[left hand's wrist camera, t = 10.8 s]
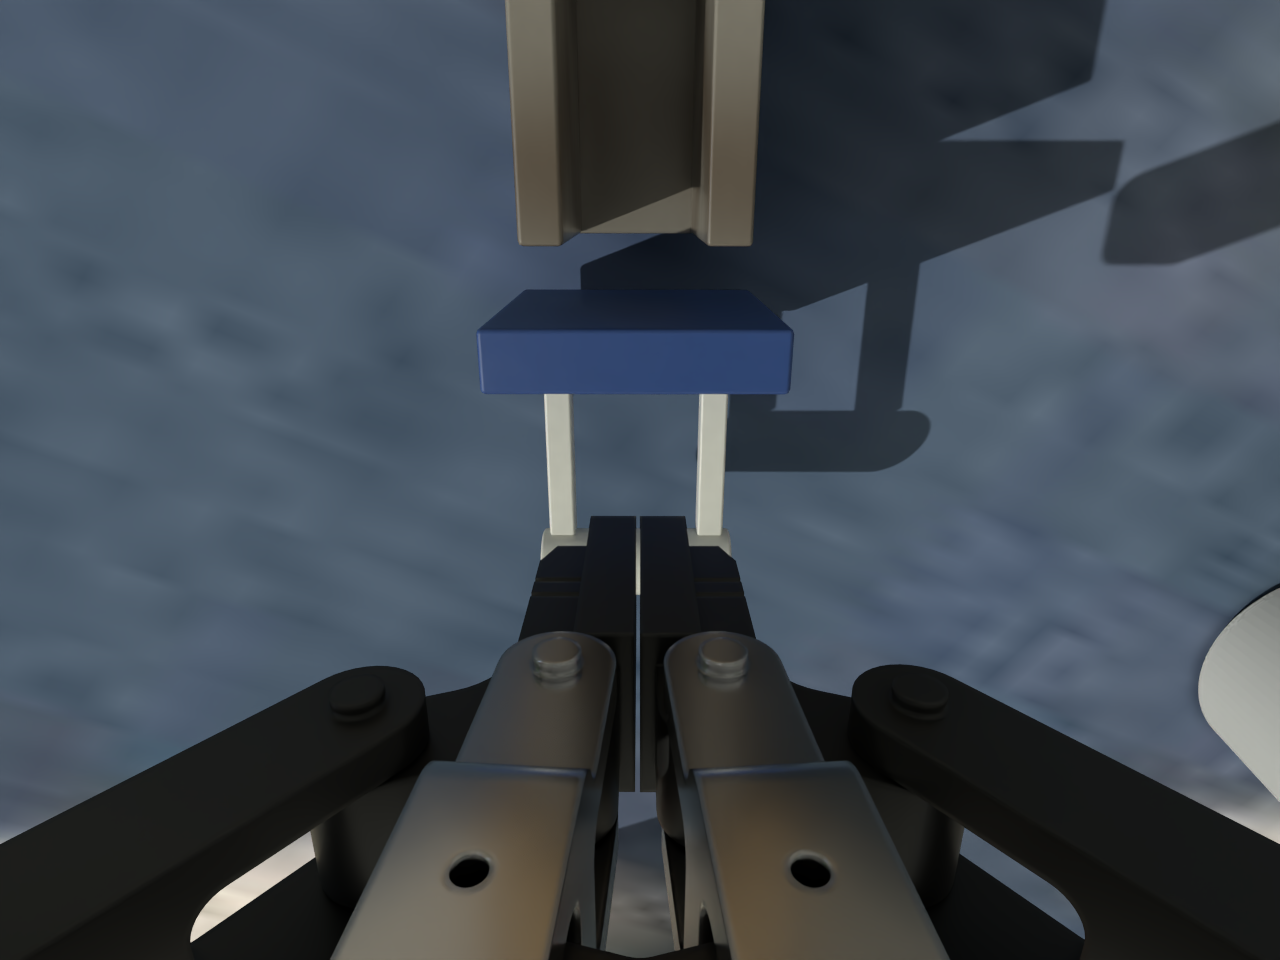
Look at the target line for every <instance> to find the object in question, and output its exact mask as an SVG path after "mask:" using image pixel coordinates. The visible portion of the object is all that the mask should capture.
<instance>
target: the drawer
mask: <svg viewBox="0 0 1280 960" xmlns="http://www.w3.org/2000/svg"><path fill="white" fill-rule="evenodd" d="M505 12H506V30H507V49H508V68H509V87H510V106H511V124H512V143H513V162H514V181H515V200H516V218H517V237H518V242H519V245H522V246H560V245H562V244H564V243H565V242H567V241H568V240H570V239H571V238H573V237H574V236H576V235H577V234H579V233H693V234H694V235H695V236H697V237H698V238H699V239H701V240H702V241H703V242H705V243H706V244H707V245H709V246H751V245H752V243H753V230H754V210H755V191H756V171H757V151H758V132H759V112H760V92H761V73H762V53H763V33H764V14H765V0H505ZM476 336H477V349H478V362H479V376H480V389H481V391H482V393H485V394H544V403H545V425H546V448H547V470H548V493H549V515H550V528H547V529H545V530H544V533H543V537H542V545H541V560H542V559H543V558H544V557H545V556H546V555H547V554H549V553H550V552H551V551H552V550H553V549H554V548H556V547H557V546H586V545H587V539H588V532H589V528H576V527H577V511H576V478H575V446H574V414H573V394H699V425H698V460H697V494H696V528H687V533H688V540H689V546H719V547H720V548H721V549H723V550H724V551H725V552H726V553H727V554H728V555H730V556H731V542H730V535H729V532H728V529H726V528H722V524H723V501H724V478H725V454H726V431H727V408H728V394H787V393H789V390H790V384H791V370H792V357H793V343H794V332H793V330H792V329H791V328H790V327H789V326H788V325H786V324H785V323H784V322H783V321H782V320H781V319H780V318H779V317H778V316H776V315H775V314H774V313H773V312H772V311H771V310H770V309H769V308H767V307H766V306H765V305H764V304H763V303H762V302H761V301H760V300H759V299H757V298H756V297H755V296H754V295H753V294H752V293H751V292H750V291H748V290H525V291H523V292H522V293H521V294H520V295H518V296H517V297H516V298H515V299H514V300H512V301H511V302H510V303H509V304H508V305H507V306H505V307H504V308H503V309H502V310H501V311H499V312H498V313H497V314H496V315H495V316H494V317H492V318H491V319H490V320H489V321H488V322H486V323H485V324H484V325H483V326H482V327H481V328H479V329H478V330H477V333H476ZM636 595H640V528H636Z"/></svg>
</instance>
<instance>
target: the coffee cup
mask: <svg viewBox="0 0 1280 960" xmlns="http://www.w3.org/2000/svg"><path fill="white" fill-rule="evenodd" d="M1198 693H1199V701H1200V706H1201V709H1202V712H1203V714H1204V716H1205V718H1206V720H1207V722H1208V723H1209V725H1210V726H1211V727H1212V728H1213V730H1214V731H1215V732H1216V733H1217V734H1218V735H1219V736H1220V737H1221V738H1222V739H1223V740H1224V742H1225V743H1226V744H1227V745H1228V746H1229V747H1230V748H1231V749H1232V750H1233V751H1234V753H1235V754H1236V755H1237V756H1238V757H1239V758H1240V759H1241V760H1242V761H1243V762H1244V764H1245V765H1246V766H1247V767H1248V768H1249V769H1250V770H1251V771H1252V772H1253V773H1254V774H1255V776H1256V777H1257V778H1258V779H1259V780H1260V781H1261V782H1262V783H1263V784H1264V785H1265V787H1266V788H1267V789H1268V790H1269V791H1270V792H1271V793H1272V794H1273V795H1274V796H1275V797H1276V799H1277V800H1278V801H1279V802H1280V588H1279V589H1276V590H1274V591H1272V592H1271V593H1269V594H1267V595H1265V596H1263V597H1262V598H1260V599H1259V600H1257V601H1256V602H1254V603H1253V604H1251V605H1250V606H1249V607H1247V608H1246V609H1245V610H1243V611H1242V612H1241V613H1240V614H1239V615H1237V616H1236V617H1235V618H1234V619H1233V620H1232V621H1231V622H1230V623H1229V624H1228V625H1227V626H1226V627H1225V629H1224V630H1223V631H1222V632H1221V633H1220V635H1219V636H1218V637H1217V639H1216V640H1215V642H1214V643H1213V645H1212V647H1211V648H1210V650H1209V652H1208V654H1207V656H1206V658H1205V661H1204V663H1203V666H1202V669H1201V673H1200V677H1199V688H1198Z"/></svg>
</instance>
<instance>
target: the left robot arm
mask: <svg viewBox="0 0 1280 960" xmlns="http://www.w3.org/2000/svg"><path fill="white" fill-rule="evenodd" d="M635 722H636V516H591V519H590V526H589V532H588V539H587V545H586V546H557V547H556V548H554V549H553V550H552V551H551V552H550V553H549V554H547V555H546V556H545V557H544V558H543V559H542V560H540V563H539V567H538V571H537V574H536V578H535V582H534V585H533V589H532V596H530V600H529V604H528V607H527V611H526V615H525V618H524V622H523V626H522V629H521V633H520V637H519V640H518V642H517V643H515V644H514V645H512V646H511V647H510V648H508V649H507V650H506V651H505V652H504V653H503V655H502V656H501V658H500V660H499V662H498V664H497V666H496V668H495V671H494V673H493V675H492V677H491V678H489V679H487V680H485V681H483V682H481V683H479V684H476V685H473V686H470V687H467V688H464V689H460V690H456V691H451V692H446V693H441V694H436V695H431V696H426V697H425V688H424V686H423V683H422V682H421V681H420V679H419V678H418V677H417V676H415V675H414V674H413V673H411V672H408V671H406V670H403V669H400V668H396V667H389V666H369V667H361V668H355V669H351V670H347V671H344V672H341V673H338V674H335V675H332V676H330V677H328V678H326V679H324V680H322V681H320V682H318V683H316V684H314V685H312V686H310V687H308V688H306V689H304V690H302V691H300V692H298V693H296V694H294V695H292V696H290V697H288V698H286V699H284V700H282V701H280V702H278V703H277V704H275V705H273V706H271V707H269V708H267V709H265V710H263V711H261V712H259V713H257V714H255V715H253V716H251V717H249V718H247V719H245V720H243V721H241V722H239V723H237V724H235V725H233V726H231V727H229V728H227V729H225V730H224V731H222V732H220V733H218V734H216V735H214V736H212V737H210V738H208V739H206V740H204V741H202V742H200V743H198V744H196V745H194V746H192V747H190V748H188V749H186V750H184V751H182V752H180V753H178V754H176V755H174V756H172V757H171V758H169V759H167V760H165V761H163V762H161V763H159V764H157V765H155V766H153V767H151V768H149V769H147V770H145V771H143V772H141V773H139V774H137V775H135V776H133V777H131V778H129V779H127V780H125V781H123V782H121V783H119V784H117V785H116V786H114V787H112V788H110V789H108V790H106V791H104V792H102V793H100V794H98V795H96V796H94V797H92V798H90V799H88V800H86V801H84V802H82V803H80V804H78V805H76V806H74V807H72V808H70V809H68V810H66V811H64V812H63V813H61V814H59V815H57V816H55V817H53V818H51V819H49V820H47V821H45V822H43V823H41V824H39V825H37V826H35V827H33V828H31V829H29V830H27V831H25V832H23V833H21V834H19V835H17V836H15V837H13V838H11V839H10V840H8V841H6V842H4V843H2V844H0V960H1280V844H1278V843H1276V842H1274V841H1272V840H1270V839H1268V838H1267V837H1265V836H1263V835H1261V834H1259V833H1257V832H1255V831H1253V830H1251V829H1249V828H1247V827H1245V826H1243V825H1241V824H1239V823H1237V822H1235V821H1233V820H1231V819H1229V818H1227V817H1225V816H1223V815H1221V814H1219V813H1217V812H1215V811H1214V810H1212V809H1210V808H1208V807H1206V806H1204V805H1202V804H1200V803H1198V802H1196V801H1194V800H1192V799H1190V798H1188V797H1186V796H1184V795H1182V794H1180V793H1178V792H1176V791H1174V790H1172V789H1170V788H1168V787H1166V786H1164V785H1162V784H1161V783H1159V782H1157V781H1155V780H1153V779H1151V778H1149V777H1147V776H1145V775H1143V774H1141V773H1139V772H1137V771H1135V770H1133V769H1131V768H1129V767H1127V766H1125V765H1123V764H1121V763H1119V762H1117V761H1115V760H1113V759H1111V758H1109V757H1108V756H1106V755H1104V754H1102V753H1100V752H1098V751H1096V750H1094V749H1092V748H1090V747H1088V746H1086V745H1084V744H1082V743H1080V742H1078V741H1076V740H1074V739H1072V738H1070V737H1068V736H1066V735H1064V734H1062V733H1060V732H1058V731H1056V730H1055V729H1053V728H1051V727H1049V726H1047V725H1045V724H1043V723H1041V722H1039V721H1037V720H1035V719H1033V718H1031V717H1029V716H1027V715H1025V714H1023V713H1021V712H1019V711H1017V710H1015V709H1013V708H1011V707H1009V706H1007V705H1005V704H1003V703H1002V702H1000V701H998V700H996V699H994V698H992V697H990V696H988V695H986V694H984V693H982V692H980V691H978V690H976V689H974V688H972V687H970V686H968V685H966V684H964V683H962V682H960V681H958V680H956V679H954V678H952V677H950V676H948V675H946V674H943V673H941V672H938V671H935V670H932V669H928V668H924V667H919V666H913V665H901V664H898V665H885V666H879V667H875V668H872V669H870V670H868V671H865V672H864V673H863V674H861V675H860V676H859V677H858V678H857V679H856V680H855V682H854V685H853V688H852V696H851V697H847V696H842V695H837V694H832V693H827V692H822V691H818V690H814V689H810V688H806V687H803V686H801V685H798V684H795V683H793V682H791V681H790V680H789V678H788V675H787V673H786V671H785V668H784V666H783V664H782V662H781V660H780V658H779V656H778V655H777V653H776V652H775V651H774V650H773V649H772V648H770V647H769V646H768V645H766V644H765V643H763V642H761V641H759V640H757V639H756V637H755V633H754V629H753V625H752V621H751V618H750V614H749V610H748V606H747V602H746V598H745V596H744V591H743V587H742V583H741V582H740V575H739V572H738V568H737V564H736V561H735V560H734V559H733V558H732V557H731V556H730V555H728V554H727V553H726V552H725V551H724V550H723V549H721V548H720V547H719V546H689V540H688V533H687V526H686V519H685V516H640V792H656V810H657V817H658V820H659V822H660V825H661V826H662V854H663V862H664V870H665V878H666V885H667V893H668V901H669V909H670V917H671V925H672V933H673V941H674V949H675V951H673V952H670V953H666V954H662V955H658V956H654V957H648V958H632V957H626V956H622V955H618V954H614V953H610V952H607V951H605V949H606V941H607V933H608V925H609V917H610V909H611V901H612V893H613V885H614V878H615V870H616V862H617V854H618V798H619V792H635ZM964 827H965V828H966V829H968V830H969V831H971V832H972V833H974V834H975V835H977V836H978V837H980V838H981V839H983V840H985V841H986V842H988V843H989V844H991V845H992V846H994V847H995V848H997V849H998V850H1000V851H1001V852H1003V853H1004V854H1006V855H1007V856H1009V857H1010V858H1012V859H1013V860H1015V861H1016V862H1018V863H1019V864H1021V865H1022V866H1024V867H1025V868H1027V869H1029V870H1030V871H1032V872H1033V873H1035V874H1036V875H1038V876H1039V877H1041V878H1042V879H1044V880H1045V881H1047V882H1048V883H1050V884H1051V885H1052V886H1054V887H1055V888H1056V889H1058V890H1059V891H1060V892H1061V893H1062V894H1063V895H1064V896H1065V897H1066V898H1067V899H1068V900H1069V901H1070V903H1071V904H1072V905H1073V907H1074V908H1075V910H1076V911H1077V913H1078V915H1079V917H1080V919H1081V921H1082V923H1083V927H1084V931H1085V940H1084V939H1083V938H1081V937H1080V936H1078V935H1077V934H1075V933H1074V932H1072V931H1071V930H1069V929H1068V928H1067V927H1065V926H1064V925H1062V924H1061V923H1059V922H1058V921H1056V920H1055V919H1053V918H1052V917H1051V916H1049V915H1048V914H1046V913H1045V912H1043V911H1042V910H1040V909H1039V908H1038V907H1036V906H1035V905H1033V904H1032V903H1030V902H1029V901H1027V900H1026V899H1024V898H1023V897H1022V896H1020V895H1019V894H1017V893H1016V892H1014V891H1013V890H1011V889H1010V888H1009V887H1007V886H1006V885H1004V884H1003V883H1001V882H1000V881H998V880H997V879H995V878H994V877H993V876H991V875H990V874H988V873H987V872H985V871H984V870H982V869H981V868H980V867H978V866H977V865H975V864H974V863H972V862H971V861H969V860H968V859H966V858H965V857H964V856H962V855H961V854H959V852H960V847H961V842H962V837H963V832H964ZM309 831H310V832H311V837H312V842H313V847H314V852H315V858H313V859H312V860H311V861H309V862H308V863H306V864H305V865H303V866H302V867H300V868H299V869H298V870H296V871H295V872H293V873H292V874H290V875H289V876H287V877H286V878H284V879H283V880H282V881H280V882H279V883H277V884H276V885H274V886H273V887H271V888H270V889H269V890H267V891H266V892H264V893H263V894H261V895H260V896H258V897H257V898H256V899H254V900H253V901H251V902H250V903H248V904H247V905H245V906H244V907H242V908H241V909H240V910H238V911H237V912H235V913H234V914H232V915H231V916H229V917H228V918H227V919H225V920H224V921H222V922H221V923H219V924H218V925H216V926H215V927H213V928H212V929H211V930H209V931H208V932H206V933H205V934H203V935H202V936H200V937H199V938H198V939H196V940H195V941H193V942H191V943H190V937H191V931H192V927H193V925H194V923H195V920H196V918H197V917H198V915H199V913H200V912H201V910H202V909H203V908H204V906H205V905H206V904H207V903H208V902H209V901H210V899H211V898H212V897H213V896H214V895H216V894H217V893H218V892H219V891H220V890H222V889H223V888H224V887H226V886H227V885H229V884H230V883H232V882H233V881H235V880H236V879H238V878H239V877H241V876H242V875H244V874H245V873H247V872H248V871H250V870H251V869H253V868H254V867H256V866H258V865H259V864H261V863H262V862H264V861H265V860H267V859H268V858H270V857H271V856H273V855H274V854H276V853H277V852H279V851H280V850H282V849H283V848H285V847H286V846H288V845H289V844H291V843H292V842H294V841H295V840H297V839H298V838H300V837H302V836H303V835H305V834H306V833H308V832H309Z"/></svg>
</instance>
